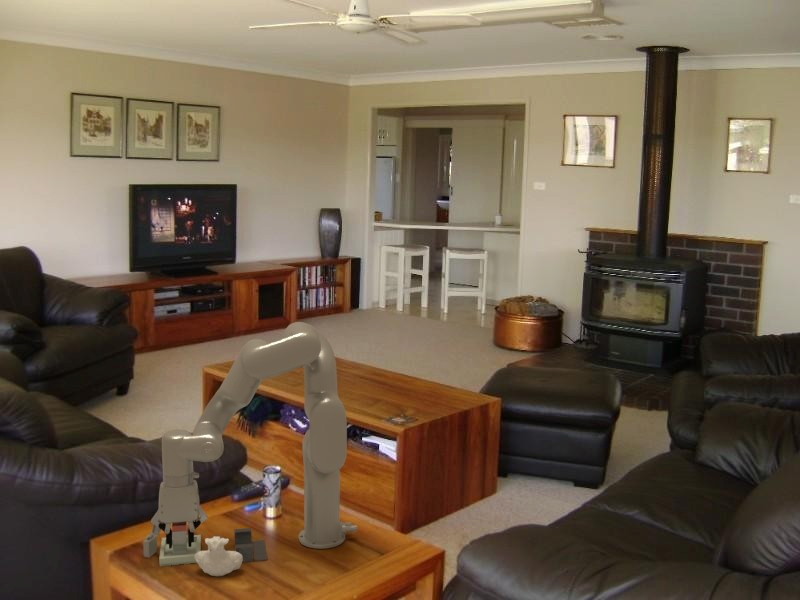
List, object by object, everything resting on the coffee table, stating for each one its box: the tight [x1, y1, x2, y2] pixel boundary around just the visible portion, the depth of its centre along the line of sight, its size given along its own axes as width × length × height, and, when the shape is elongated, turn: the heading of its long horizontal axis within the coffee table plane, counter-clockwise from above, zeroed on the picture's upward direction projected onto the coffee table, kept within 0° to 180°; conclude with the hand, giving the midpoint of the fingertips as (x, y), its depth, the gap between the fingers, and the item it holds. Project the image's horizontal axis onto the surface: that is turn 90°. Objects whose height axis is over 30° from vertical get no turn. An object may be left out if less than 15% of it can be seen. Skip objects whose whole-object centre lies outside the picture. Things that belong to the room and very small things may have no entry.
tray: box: [158, 534, 202, 567], centre depth 223 cm, size 10×12×2 cm
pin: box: [171, 522, 188, 555], centre depth 223 cm, size 4×4×8 cm
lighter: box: [142, 519, 162, 558], centre depth 224 cm, size 7×2×8 cm, turn 166°
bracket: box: [233, 527, 268, 563], centre depth 225 cm, size 8×11×4 cm
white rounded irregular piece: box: [194, 535, 243, 577], centre depth 213 cm, size 12×8×11 cm
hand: (180, 544), depth 223 cm, fingers open, 4 cm apart
